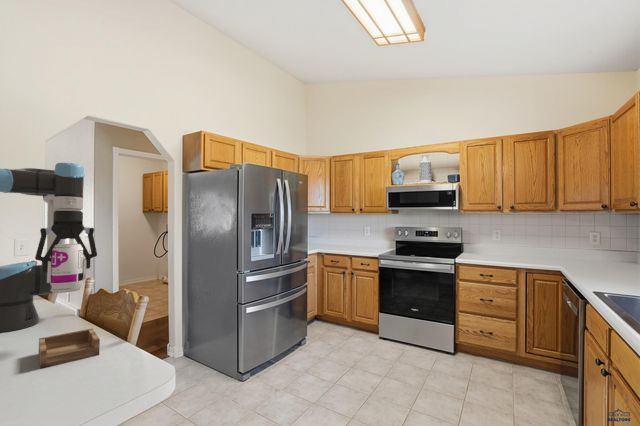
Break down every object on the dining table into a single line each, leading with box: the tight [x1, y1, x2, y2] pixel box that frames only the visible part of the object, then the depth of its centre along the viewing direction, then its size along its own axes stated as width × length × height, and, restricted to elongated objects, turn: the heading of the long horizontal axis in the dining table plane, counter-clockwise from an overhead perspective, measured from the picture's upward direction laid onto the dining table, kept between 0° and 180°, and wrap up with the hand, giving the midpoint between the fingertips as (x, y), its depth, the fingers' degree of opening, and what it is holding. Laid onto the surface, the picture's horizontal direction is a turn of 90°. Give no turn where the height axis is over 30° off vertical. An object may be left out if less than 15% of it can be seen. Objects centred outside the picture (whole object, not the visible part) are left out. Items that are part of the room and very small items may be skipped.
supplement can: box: [50, 243, 84, 294], centre depth 102 cm, size 8×8×15 cm
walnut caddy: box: [38, 328, 101, 369], centre depth 93 cm, size 13×13×4 cm
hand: (66, 280), depth 101 cm, fingers closed on supplement can, 8 cm apart
